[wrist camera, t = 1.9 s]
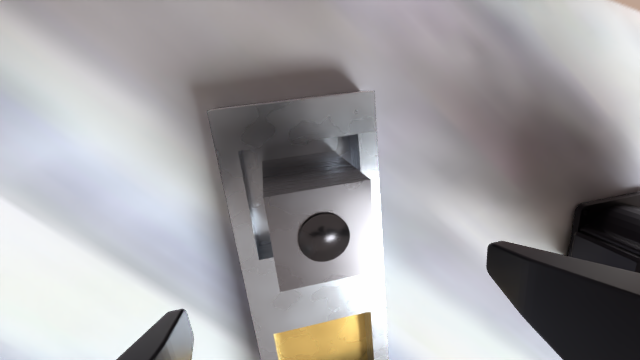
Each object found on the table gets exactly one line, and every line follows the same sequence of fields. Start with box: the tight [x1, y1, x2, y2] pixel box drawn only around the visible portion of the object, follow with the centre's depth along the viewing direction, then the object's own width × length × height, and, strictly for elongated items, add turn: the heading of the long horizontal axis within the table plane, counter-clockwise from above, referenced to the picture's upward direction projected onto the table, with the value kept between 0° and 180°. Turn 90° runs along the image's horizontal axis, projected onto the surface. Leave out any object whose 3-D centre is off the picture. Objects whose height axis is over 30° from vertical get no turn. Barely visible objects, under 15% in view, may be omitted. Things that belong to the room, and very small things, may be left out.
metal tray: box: [207, 91, 389, 360], centre depth 18 cm, size 8×20×2 cm, turn 6°
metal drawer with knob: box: [262, 150, 376, 292], centre depth 14 cm, size 4×4×6 cm
